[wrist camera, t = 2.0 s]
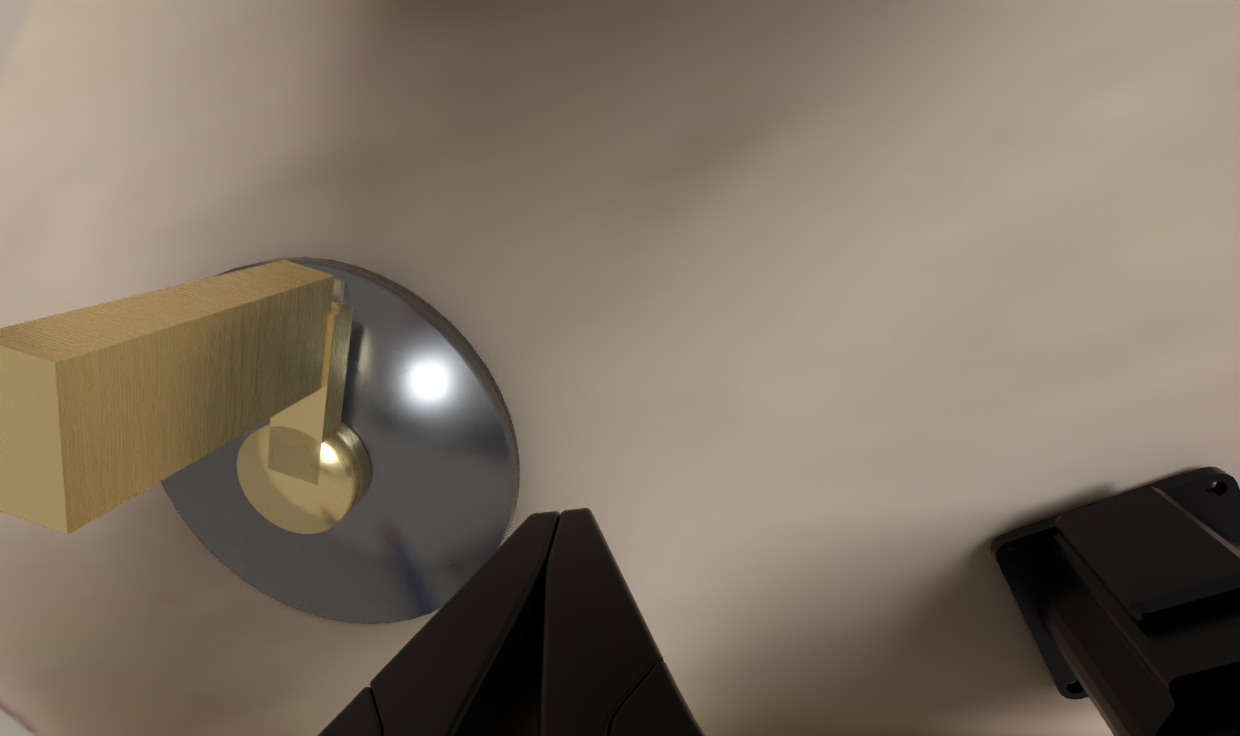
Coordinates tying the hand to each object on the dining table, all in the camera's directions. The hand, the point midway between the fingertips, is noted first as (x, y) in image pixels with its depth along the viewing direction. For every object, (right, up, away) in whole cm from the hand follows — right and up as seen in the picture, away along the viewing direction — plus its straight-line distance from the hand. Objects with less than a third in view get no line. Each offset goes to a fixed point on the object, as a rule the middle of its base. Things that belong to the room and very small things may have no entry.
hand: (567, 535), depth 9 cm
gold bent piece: (-9, +1, +12) cm, 15 cm away
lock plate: (-10, -1, +14) cm, 17 cm away
